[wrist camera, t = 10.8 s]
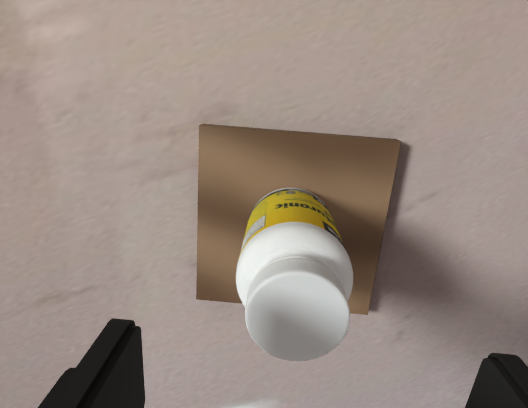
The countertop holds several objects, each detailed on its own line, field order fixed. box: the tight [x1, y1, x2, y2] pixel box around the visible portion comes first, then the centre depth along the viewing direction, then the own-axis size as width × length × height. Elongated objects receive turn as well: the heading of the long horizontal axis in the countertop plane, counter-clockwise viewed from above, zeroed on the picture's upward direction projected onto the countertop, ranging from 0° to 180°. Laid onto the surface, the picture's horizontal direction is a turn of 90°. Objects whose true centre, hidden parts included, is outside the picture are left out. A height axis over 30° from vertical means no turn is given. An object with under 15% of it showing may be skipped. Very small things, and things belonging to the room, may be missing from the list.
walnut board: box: [196, 124, 401, 315], centre depth 23 cm, size 12×12×1 cm
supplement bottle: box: [236, 188, 353, 361], centre depth 18 cm, size 5×5×10 cm
